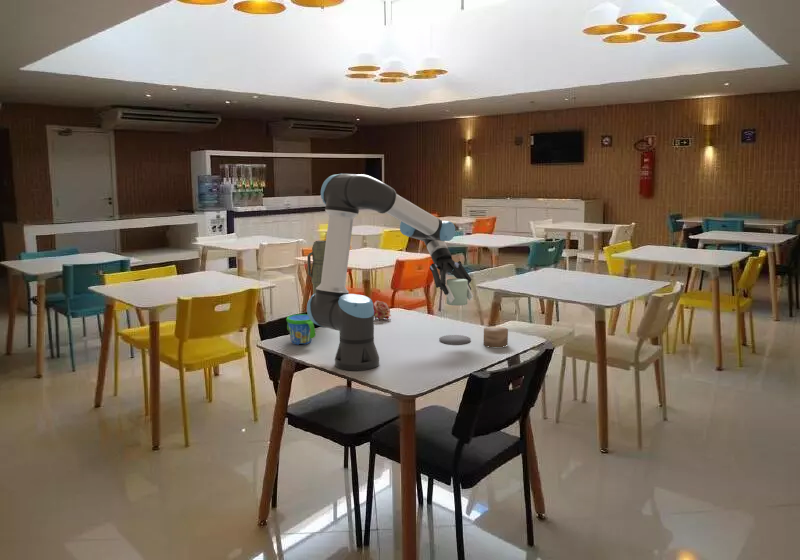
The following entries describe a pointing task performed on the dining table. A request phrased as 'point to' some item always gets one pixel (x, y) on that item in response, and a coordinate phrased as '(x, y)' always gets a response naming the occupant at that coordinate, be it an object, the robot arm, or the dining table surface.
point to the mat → (454, 339)
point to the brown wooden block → (495, 336)
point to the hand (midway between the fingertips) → (461, 299)
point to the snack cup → (300, 328)
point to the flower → (381, 310)
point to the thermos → (316, 263)
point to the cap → (458, 291)
